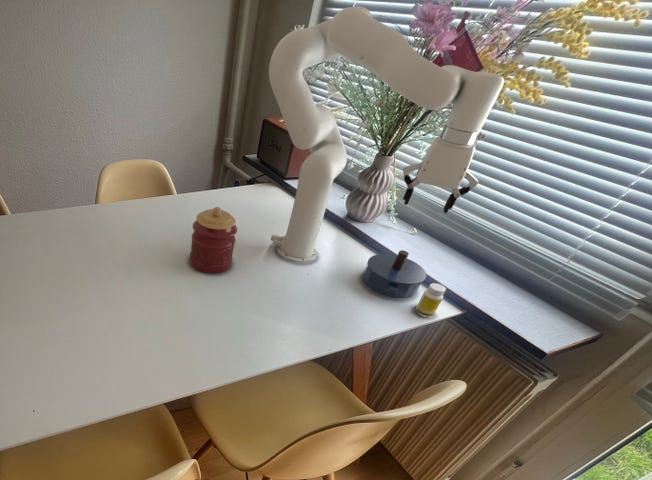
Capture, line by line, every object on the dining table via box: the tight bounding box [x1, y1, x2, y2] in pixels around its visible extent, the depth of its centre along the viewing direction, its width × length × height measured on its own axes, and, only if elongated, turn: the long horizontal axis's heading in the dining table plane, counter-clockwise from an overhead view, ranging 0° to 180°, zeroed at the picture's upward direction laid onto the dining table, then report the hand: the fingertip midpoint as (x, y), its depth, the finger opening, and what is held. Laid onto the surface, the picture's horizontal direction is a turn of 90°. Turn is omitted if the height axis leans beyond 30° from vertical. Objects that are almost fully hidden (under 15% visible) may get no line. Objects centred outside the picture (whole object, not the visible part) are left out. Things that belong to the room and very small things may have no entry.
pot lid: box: [366, 249, 427, 285], centre depth 123 cm, size 16×16×6 cm
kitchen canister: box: [189, 206, 238, 274], centre depth 126 cm, size 13×13×18 cm
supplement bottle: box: [415, 282, 447, 318], centre depth 116 cm, size 5×5×8 cm
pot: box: [362, 265, 422, 300], centre depth 127 cm, size 15×21×5 cm
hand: (425, 206), depth 112 cm, fingers open, 9 cm apart
